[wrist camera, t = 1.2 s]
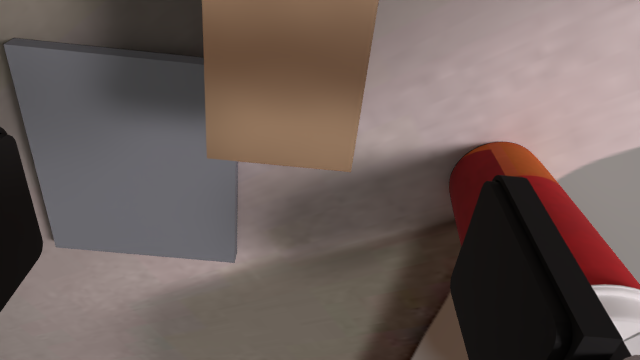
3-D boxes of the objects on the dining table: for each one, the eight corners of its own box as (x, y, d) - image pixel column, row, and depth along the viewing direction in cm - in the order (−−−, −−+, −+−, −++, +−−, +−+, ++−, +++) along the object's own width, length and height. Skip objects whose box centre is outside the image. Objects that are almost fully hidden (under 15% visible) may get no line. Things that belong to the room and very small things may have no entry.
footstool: (240, -134, 22) (198, -123, 15) (374, -118, 22) (394, -100, 15) (238, 78, 28) (206, 158, 21) (346, 89, 28) (350, 172, 21)
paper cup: (444, 239, 34) (503, 445, 22) (419, 145, 30) (475, 337, 18) (564, 211, 32) (694, 416, 21) (555, 108, 28) (710, 291, 17)
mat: (13, 37, 27) (3, 44, 26) (238, 61, 27) (235, 68, 26) (62, 237, 34) (55, 247, 34) (236, 252, 35) (234, 262, 34)
